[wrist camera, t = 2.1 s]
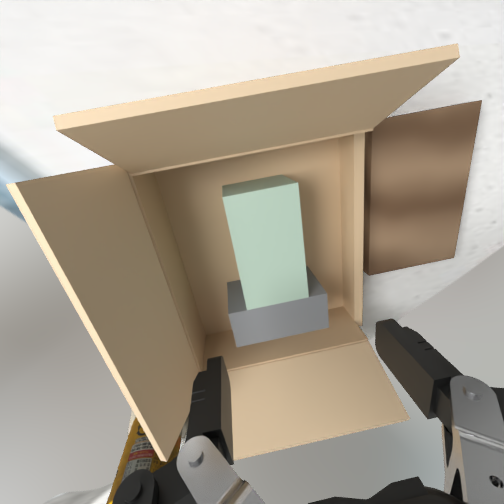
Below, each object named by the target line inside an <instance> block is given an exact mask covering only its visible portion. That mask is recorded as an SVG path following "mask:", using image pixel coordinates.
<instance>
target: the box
mask: <svg viewBox="0 0 504 504" xmlns="http://www.w3.org/2000/svg"><path fill="white" fill-rule="evenodd" d="M222 198H223V203H224V207H225V212H226V216H227V221H228V225H229V230H230V235H231V239H232V244H233V248H234V253H235V257H236V262H237V267H238V271H239V276H240V280H236V281H231V282H227V293H228V315H229V319H230V323H231V326H232V330H233V334H234V338H235V342H236V346H237V347H241V346H246V345H251V344H255V343H260V342H265V341H269V340H274V339H278V338H283V337H288V336H292V335H297V334H302V333H306V332H311V331H316V330H320V329H325V328H329V317H328V300H327V292H326V291H325V290H324V288H323V287H322V285H321V284H320V283H319V281H318V280H317V278H316V277H315V276H314V274H313V273H312V271H311V270H310V269H309V267H308V266H306V262H305V251H304V240H303V229H302V218H301V208H300V197H299V186H298V182H296V181H294V180H292V179H290V178H288V177H286V176H284V175H282V174H281V175H276V176H270V177H265V178H260V179H255V180H250V181H244V182H239V183H234V184H229V185H224V186H222Z"/></svg>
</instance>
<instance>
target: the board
mask: <svg viewBox="0 0 504 504" xmlns="http://www.w3.org/2000/svg"><path fill="white" fill-rule="evenodd" d="M481 103H482V100H480V101H474V102H469V103H463V104H458V105H452V106H447V107H442V108H436V109H431V110H426V111H420V112H415V113H410V114H404V115H399V116H394V117H388V118H385V119H384V120H383V121H381V122H380V123H379V124H378V125H377V126H375V127H374V128H373V131H368V132H365V148H364V230H363V271H364V272H365V273H366V274H368V275H374V274H379V273H384V272H388V271H393V270H398V269H403V268H407V267H412V266H417V265H422V264H426V263H431V262H436V261H441V260H446V259H450V258H454V256H455V250H456V244H457V239H458V233H459V227H460V222H461V216H462V210H463V205H464V199H465V193H466V188H467V182H468V176H469V171H470V165H471V160H472V154H473V148H474V143H475V137H476V131H477V126H478V120H479V114H480V109H481Z"/></svg>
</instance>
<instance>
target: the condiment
mask: <svg viewBox="0 0 504 504" xmlns="http://www.w3.org/2000/svg"><path fill="white" fill-rule="evenodd" d="M189 413H190V412H189ZM188 421H189V414H188V417H187V419H186V421H185V423H184V426H183V428H182V430H181V432H180V434H179V437H178V439H177V441H176V443H175V445H174V448H173V450H172V452H171V454H170V457H169V459H168V461H167V462H165V461H161V460H160V458H159V457H158V455H157V453H156V451H155V450H154V448H153V446H152V444H151V442H150V441H149V439H148V437H147V435H146V433H145V432H144V430H143V428H142V426H141V425H140V423H139V421H138V419H137V417H136V416H135V414H134V412H133V410H132V413H131V418H130V424H129V429H128V434H129V435H128V439H127V442H126V445H125V448H124V452H123V455H122V458H121V460H120V464H119V466H118V470H117V474H116V478H115V480H114V483H113V486H112V489H111V492H110V495H109V498H108V501H107V503H106V504H112V502H113V498H114V495H115V493H116V491H117V489H118V487H119V486H120V484H121V483H122V482H123V480H124V479H125V478H126V477H127V476H128V475H130V474H131V473H133V472H134V471H136V470H139V469H147V470H149V471H150V472H151V473H153V472H154V471H156V470H158V469H159V468H161V467H163V466H164V465H166V464H167V463H169V462H170V461H172V460H173V459H174V458H175V457H176V456H177V455H178V454H179V450H180V444H181V438H185V434H186V431H187V428H188Z"/></svg>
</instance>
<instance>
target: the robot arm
mask: <svg viewBox="0 0 504 504" xmlns="http://www.w3.org/2000/svg"><path fill="white" fill-rule="evenodd" d="M375 345H376V350H377V352H378V354H379V356H380V357H381V359H382V360H383V361H384V363H385V364H386V365H387V367H388V368H389V369H390V371H391V372H392V373H393V374H394V376H395V377H396V378H397V380H398V381H399V382H400V384H401V385H402V386H403V388H404V389H405V390H406V392H407V393H408V394H409V395H410V397H411V398H412V399H413V401H414V402H415V403H416V404H417V406H418V407H419V408H420V410H421V411H422V412H423V414H424V415H425V416H426V417H427V419H431V418H436V417H438V418H439V419H440V421H441V422H442V440H443V454H444V468H445V482H444V492H443V491H441V490H437V489H435V488H431V487H425V486H424V485H423V483H422V482H421V480H420V479H419V477H414V478H410V479H406V480H401V481H398V482H393V483H391V484H389V485H388V486H386V487H385V488H384V489H382V490H381V491H379V492H378V493H377V494H375V495H374V496H372V497H371V498H369V499H366V500H365V499H353V498H343V497H332V498H328V499H324V500H320V501H316V502H312V503H308V504H504V388H493V387H489V386H488V385H487V384H485V383H484V382H482V381H480V380H478V379H476V378H473V377H470V376H464V375H463V374H462V373H460V372H459V371H458V370H457V369H456V368H455V367H454V366H453V365H452V364H451V363H450V362H448V361H447V360H446V359H445V358H444V357H443V356H442V355H441V354H440V353H439V352H438V351H437V350H436V349H434V348H433V347H432V346H431V345H430V344H429V343H428V342H426V340H425V339H424V338H423V337H422V336H421V335H420V334H419V333H417V332H416V331H414V330H412V329H409V328H408V327H403V328H402V327H401V326H400V325H399V324H398V323H397V322H396V321H395V320H394V319H388V320H383V321H378V322H377V323H376V339H375ZM233 464H234V459H233V433H232V407H231V386H230V380H229V375H228V372H227V369H226V365H225V362H224V358H223V356H217V357H213V358H208V359H207V370H206V371H202V372H198V374H197V376H196V378H195V380H194V382H193V388H192V396H191V404H190V413H189V421H188V429H187V437H186V441H185V444H184V445H183V447H182V448H181V450H180V451H179V454H178V455H177V456H176V457H175V458H174V459H173V460H172V461H170V462H169V463H167V464H166V465H164V466H163V467H161V468H159V469H158V470H156V471H154V472H153V473H151V472H150V471H149V470H147V469H139V470H136V471H134V472H133V473H131V474H130V475H128V476H127V477H126V478H125V479H124V480H123V482H122V483H121V484H120V486H119V487H118V489H117V491H116V493H115V495H114V498H113V502H112V504H265V503H264V501H263V500H262V499H261V498H260V496H259V495H258V494H257V493H256V491H255V490H254V489H253V488H252V487H251V485H250V484H249V483H248V482H247V481H245V480H244V481H243V480H242V479H241V478H240V477H239V476H238V475H237V473H236V472H235V471H234V470H233V468H232V467H231V466H230V465H233Z"/></svg>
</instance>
